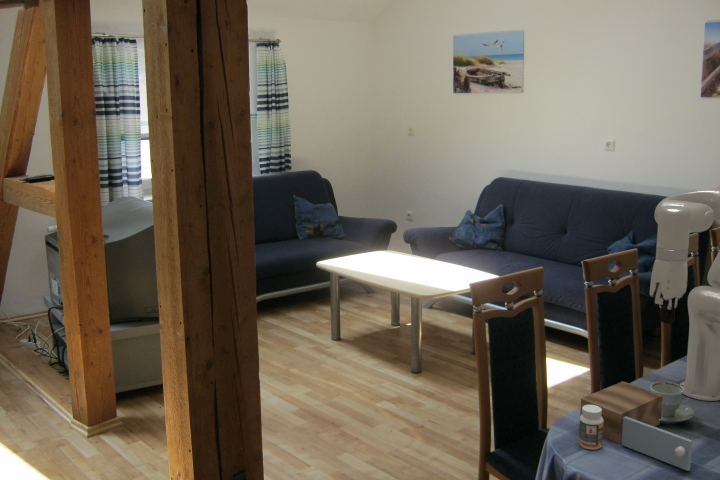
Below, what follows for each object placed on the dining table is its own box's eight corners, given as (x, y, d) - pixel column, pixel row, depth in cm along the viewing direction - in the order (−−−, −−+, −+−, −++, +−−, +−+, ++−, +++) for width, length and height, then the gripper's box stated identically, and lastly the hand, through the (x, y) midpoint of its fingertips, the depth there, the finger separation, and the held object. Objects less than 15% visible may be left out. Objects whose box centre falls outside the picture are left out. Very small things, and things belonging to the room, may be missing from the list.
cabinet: (621, 408, 206) (623, 381, 204) (660, 423, 196) (662, 395, 194) (579, 426, 195) (581, 398, 194) (618, 443, 186) (620, 414, 184)
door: (618, 446, 184) (619, 419, 182) (623, 443, 185) (625, 416, 184) (684, 473, 171) (687, 443, 169) (690, 469, 172) (692, 440, 171)
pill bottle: (603, 451, 182) (605, 414, 180) (579, 449, 184) (581, 412, 181) (601, 440, 188) (602, 404, 186) (577, 438, 189) (579, 402, 187)
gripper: (675, 247, 197) (670, 313, 201) (641, 256, 188) (637, 324, 192) (701, 252, 191) (696, 320, 195) (668, 261, 182) (663, 332, 186)
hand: (667, 322), depth 193 cm, fingers closed
